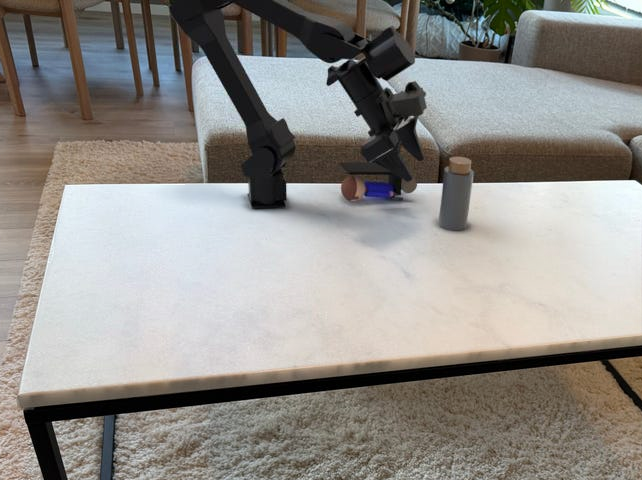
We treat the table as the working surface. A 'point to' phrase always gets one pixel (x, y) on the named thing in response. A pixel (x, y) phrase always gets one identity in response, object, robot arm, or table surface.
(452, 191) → the pepper mill
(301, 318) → the table surface
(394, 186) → the figurine character
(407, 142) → the robot arm
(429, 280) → the table surface
